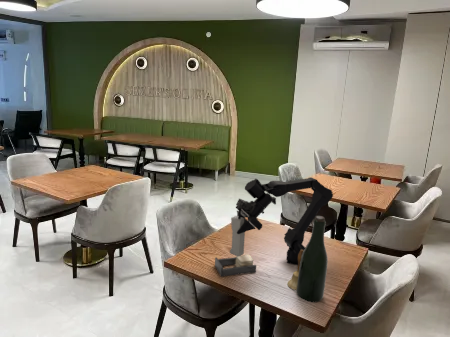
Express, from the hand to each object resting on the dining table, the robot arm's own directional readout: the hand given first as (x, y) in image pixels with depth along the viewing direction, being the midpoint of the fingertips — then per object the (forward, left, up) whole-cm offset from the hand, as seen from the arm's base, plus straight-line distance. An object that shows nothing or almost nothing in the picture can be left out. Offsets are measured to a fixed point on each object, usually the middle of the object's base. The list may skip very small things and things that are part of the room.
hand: (234, 230), depth 144 cm
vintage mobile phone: (-1, -1, -11) cm, 11 cm away
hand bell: (-29, +2, -18) cm, 34 cm away
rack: (-1, -1, -18) cm, 18 cm away
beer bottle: (-34, +7, -18) cm, 39 cm away
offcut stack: (-4, -3, -18) cm, 19 cm away
